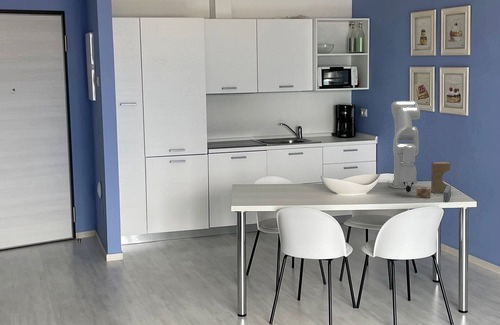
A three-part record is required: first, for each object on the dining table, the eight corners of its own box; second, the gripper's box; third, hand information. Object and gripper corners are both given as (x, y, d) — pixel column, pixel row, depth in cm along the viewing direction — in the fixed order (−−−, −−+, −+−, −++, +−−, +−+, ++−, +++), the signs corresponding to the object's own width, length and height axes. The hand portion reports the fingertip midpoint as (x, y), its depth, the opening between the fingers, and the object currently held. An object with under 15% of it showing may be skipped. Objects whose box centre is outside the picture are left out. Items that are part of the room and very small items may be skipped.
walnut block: (416, 198, 448) (416, 188, 447) (417, 195, 455) (417, 186, 455) (428, 198, 445) (429, 189, 444) (430, 196, 453) (430, 187, 452)
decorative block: (446, 191, 468) (447, 161, 465) (449, 192, 463) (450, 163, 460) (430, 191, 467) (431, 162, 464) (433, 193, 461) (434, 163, 458)
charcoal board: (443, 201, 434) (443, 192, 434) (446, 194, 457) (446, 185, 456) (447, 201, 434) (447, 192, 433) (450, 194, 456) (450, 185, 455)
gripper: (396, 164, 450) (395, 192, 452) (419, 165, 444) (419, 193, 447) (398, 163, 457) (397, 190, 459) (421, 163, 451) (420, 191, 454)
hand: (408, 192), depth 453 cm, fingers closed
